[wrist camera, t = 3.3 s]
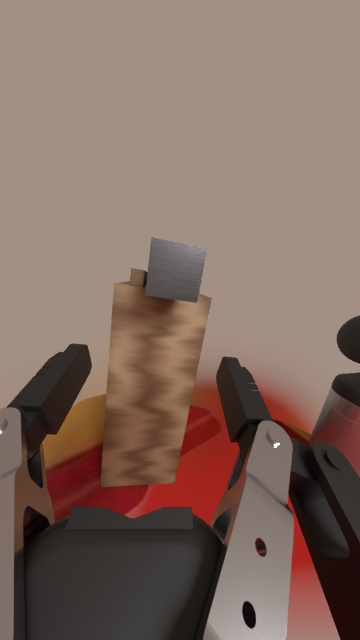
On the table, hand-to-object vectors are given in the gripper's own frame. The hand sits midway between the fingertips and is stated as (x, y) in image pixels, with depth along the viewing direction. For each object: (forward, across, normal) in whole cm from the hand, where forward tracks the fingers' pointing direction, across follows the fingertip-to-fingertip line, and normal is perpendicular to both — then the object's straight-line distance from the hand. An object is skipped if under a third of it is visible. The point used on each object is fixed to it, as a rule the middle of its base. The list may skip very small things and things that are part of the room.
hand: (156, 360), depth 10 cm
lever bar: (+16, 0, +2) cm, 16 cm away
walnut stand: (+7, +2, +33) cm, 33 cm away
